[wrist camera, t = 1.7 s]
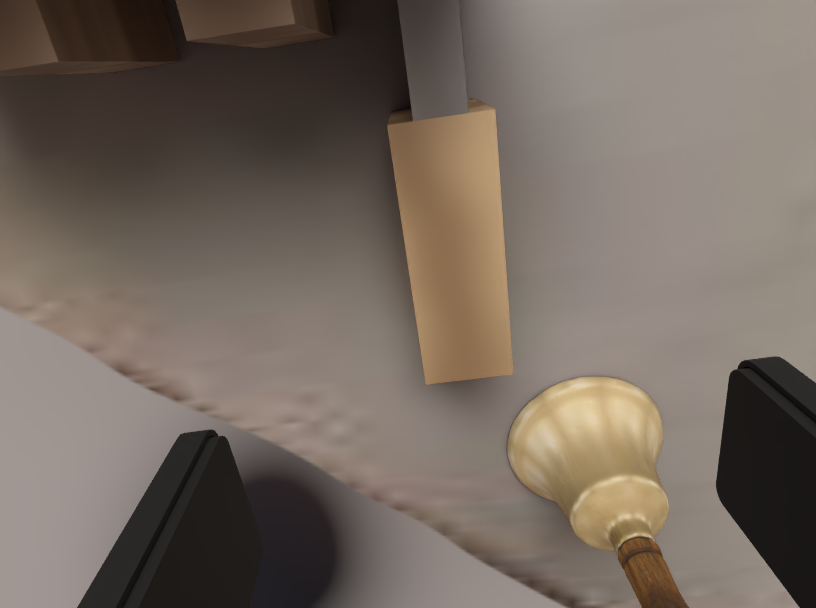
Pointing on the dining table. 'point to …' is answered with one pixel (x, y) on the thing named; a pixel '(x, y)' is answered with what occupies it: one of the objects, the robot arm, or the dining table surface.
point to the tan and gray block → (450, 203)
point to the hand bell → (601, 473)
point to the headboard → (143, 31)
